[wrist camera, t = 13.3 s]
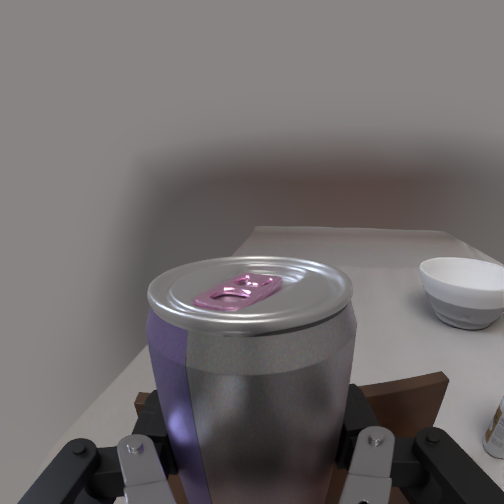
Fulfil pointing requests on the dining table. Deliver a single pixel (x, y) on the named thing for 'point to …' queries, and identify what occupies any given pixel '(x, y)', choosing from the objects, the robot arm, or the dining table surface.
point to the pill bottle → (496, 434)
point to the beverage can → (253, 375)
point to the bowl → (464, 291)
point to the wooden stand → (387, 413)
